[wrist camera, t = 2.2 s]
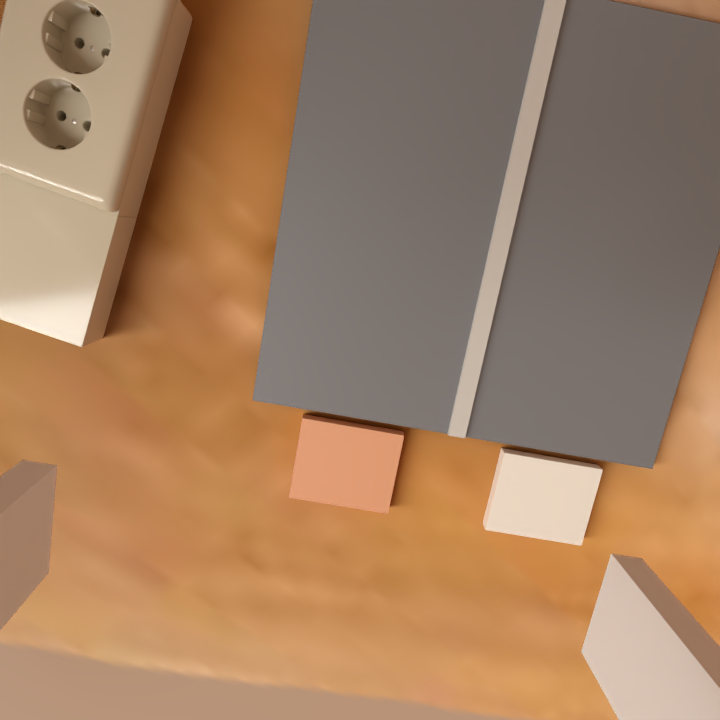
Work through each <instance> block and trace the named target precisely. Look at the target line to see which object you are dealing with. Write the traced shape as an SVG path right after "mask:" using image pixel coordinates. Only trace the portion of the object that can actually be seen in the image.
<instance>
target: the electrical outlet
mask: <svg viewBox="0 0 720 720" xmlns="http://www.w3.org/2000/svg"><path fill="white" fill-rule="evenodd" d="M191 24H192V15H191V14H190V13H189V11H188V10H187V9H186V7H185V6H184V5H183V3H182V2H181V1H180V0H6V3H5V7H4V12H3V16H2V21H1V25H0V319H1V320H4V321H7V322H10V323H13V324H16V325H19V326H22V327H25V328H28V329H30V330H33V331H36V332H39V333H42V334H45V335H48V336H51V337H54V338H57V339H60V340H62V341H65V342H68V343H71V344H74V345H77V346H80V347H83V346H86V345H88V344H90V343H93V342H95V341H97V340H100V339H102V338H103V336H104V333H105V329H106V326H107V322H108V319H109V315H110V311H111V308H112V304H113V301H114V297H115V294H116V290H117V287H118V283H119V279H120V276H121V272H122V269H123V265H124V262H125V258H126V255H127V251H128V247H129V244H130V240H131V237H132V233H133V230H134V226H135V223H136V219H137V218H136V217H137V216H138V212H139V208H140V205H141V201H142V198H143V194H144V191H145V187H146V184H147V180H148V176H149V173H150V169H151V166H152V162H153V159H154V155H155V152H156V148H157V144H158V141H159V137H160V134H161V130H162V127H163V123H164V120H165V116H166V112H167V109H168V105H169V102H170V98H171V95H172V91H173V88H174V84H175V81H176V77H177V73H178V70H179V66H180V63H181V59H182V56H183V52H184V49H185V45H186V41H187V38H188V34H189V31H190V27H191Z"/></svg>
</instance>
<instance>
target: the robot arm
mask: <svg viewBox="0 0 720 720" xmlns="http://www.w3.org/2000/svg"><path fill="white" fill-rule="evenodd" d="M56 474H57V465H51V464H45V463H39V462H33V461H26V460H22V461H21V462H19V463H18V464H17V465H15V466H14V467H12V468H11V469H10V470H8V471H7V472H6V473H4V474H3V475H2V476H0V630H1V629H2V628H3V626H4V625H5V624H6V623H7V622H8V620H9V619H10V618H11V617H12V616H13V614H14V613H15V612H16V611H17V610H18V609H19V607H20V606H21V605H22V604H23V603H24V601H25V600H26V599H27V598H28V597H29V595H30V594H31V593H32V592H33V591H34V590H35V588H36V587H37V586H38V585H39V584H40V582H41V581H42V580H43V579H44V578H45V576H46V575H47V574H48V572H49V559H50V547H51V535H52V523H53V511H54V498H55V486H56ZM581 652H582V654H583V656H584V657H585V659H586V661H587V663H588V665H589V667H590V668H591V670H592V672H593V674H594V676H595V677H596V679H597V681H598V683H599V685H600V686H601V688H602V690H603V692H604V694H605V696H606V697H607V699H608V701H609V703H610V705H611V706H612V708H613V710H614V712H615V714H616V716H617V717H618V719H619V720H720V647H719V645H718V644H717V643H716V642H715V641H714V640H713V639H712V638H711V636H710V635H709V634H708V633H707V632H706V631H705V630H704V628H703V627H702V626H701V625H700V624H699V623H698V622H697V621H696V619H695V618H694V617H693V616H692V615H691V614H690V613H689V611H688V610H687V609H686V608H685V607H684V606H683V605H682V604H681V602H680V601H679V600H678V599H677V598H676V597H675V596H674V595H673V593H672V592H671V591H670V590H669V589H668V588H667V587H666V585H665V584H664V583H663V582H662V581H661V580H660V579H659V578H658V576H657V575H656V574H655V573H654V572H653V571H652V570H651V568H650V567H649V566H648V565H647V564H646V563H645V562H644V561H643V559H642V558H636V557H629V556H623V555H617V554H611V556H610V560H609V563H608V566H607V569H606V573H605V576H604V579H603V583H602V586H601V589H600V592H599V596H598V599H597V602H596V605H595V609H594V612H593V615H592V618H591V622H590V625H589V628H588V632H587V635H586V638H585V641H584V645H583V648H582V651H581Z"/></svg>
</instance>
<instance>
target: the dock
mask: <svg viewBox="0 0 720 720" xmlns="http://www.w3.org/2000/svg"><path fill="white" fill-rule="evenodd" d="M719 248H720V23H715V22H710V21H705V20H701V19H696V18H691V17H686V16H681V15H677V14H672V13H667V12H662V11H658V10H653V9H648V8H643V7H639V6H634V5H629V4H624V3H620V2H615V1H610V0H313V5H312V11H311V18H310V25H309V31H308V38H307V44H306V51H305V58H304V64H303V71H302V77H301V84H300V91H299V97H298V104H297V111H296V117H295V124H294V130H293V137H292V144H291V150H290V157H289V163H288V170H287V177H286V183H285V190H284V197H283V203H282V210H281V216H280V223H279V230H278V236H277V243H276V250H275V256H274V263H273V269H272V276H271V283H270V289H269V296H268V302H267V309H266V316H265V322H264V329H263V336H262V342H261V349H260V355H259V362H258V369H257V375H256V382H255V388H254V395H253V400H254V401H260V402H266V403H272V404H277V405H283V406H289V407H295V408H301V409H306V410H312V411H318V412H324V413H330V414H336V415H341V416H347V417H353V418H359V419H365V420H370V421H376V422H382V423H388V424H394V425H399V426H405V427H411V428H417V429H423V430H429V431H434V432H440V433H446V434H448V436H454V437H460V438H465V437H469V438H475V439H481V440H487V441H493V442H498V443H504V444H510V445H516V446H522V447H527V448H533V449H539V450H545V451H551V452H557V453H562V454H568V455H574V456H580V457H586V458H591V459H597V460H603V461H609V462H615V463H620V464H626V465H632V466H638V467H644V468H650V469H653V466H654V462H655V459H656V456H657V452H658V449H659V446H660V443H661V439H662V436H663V433H664V429H665V426H666V423H667V420H668V416H669V413H670V410H671V406H672V403H673V400H674V396H675V393H676V390H677V387H678V383H679V380H680V377H681V373H682V370H683V367H684V363H685V360H686V357H687V354H688V350H689V347H690V344H691V340H692V337H693V334H694V330H695V327H696V324H697V321H698V317H699V314H700V311H701V307H702V304H703V301H704V297H705V294H706V291H707V288H708V284H709V281H710V278H711V274H712V271H713V268H714V265H715V261H716V258H717V255H718V251H719ZM403 440H404V432H403V431H399V430H393V429H387V428H381V427H376V426H370V425H364V424H358V423H352V422H346V421H341V420H335V419H329V418H323V417H317V416H312V415H306V414H303V418H302V424H301V430H300V436H299V442H298V447H297V453H296V459H295V465H294V471H293V477H292V483H291V489H290V494H289V498H295V499H301V500H307V501H313V502H319V503H326V504H332V505H338V506H344V507H350V508H356V509H362V510H368V511H374V512H380V513H386V514H388V511H389V507H390V502H391V497H392V492H393V487H394V483H395V478H396V473H397V468H398V464H399V459H400V454H401V449H402V444H403ZM602 472H603V469H602V468H601V467H600V466H599V465H597V464H591V463H586V462H580V461H574V460H568V459H562V458H556V457H551V456H545V455H539V454H533V453H527V452H521V451H516V450H510V449H504V448H501V451H500V455H499V459H498V463H497V467H496V471H495V476H494V480H493V484H492V488H491V492H490V496H489V500H488V504H487V508H486V512H485V516H484V520H483V525H484V528H485V530H490V531H496V532H502V533H508V534H514V535H520V536H526V537H532V538H538V539H544V540H550V541H556V542H562V543H568V544H575V545H582V542H583V538H584V535H585V531H586V528H587V524H588V521H589V517H590V514H591V510H592V507H593V503H594V500H595V496H596V493H597V489H598V486H599V482H600V479H601V475H602Z"/></svg>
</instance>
